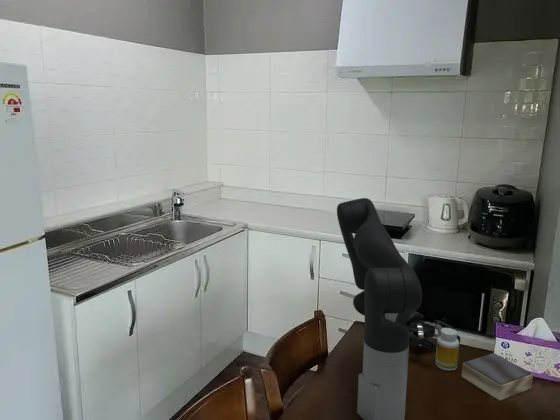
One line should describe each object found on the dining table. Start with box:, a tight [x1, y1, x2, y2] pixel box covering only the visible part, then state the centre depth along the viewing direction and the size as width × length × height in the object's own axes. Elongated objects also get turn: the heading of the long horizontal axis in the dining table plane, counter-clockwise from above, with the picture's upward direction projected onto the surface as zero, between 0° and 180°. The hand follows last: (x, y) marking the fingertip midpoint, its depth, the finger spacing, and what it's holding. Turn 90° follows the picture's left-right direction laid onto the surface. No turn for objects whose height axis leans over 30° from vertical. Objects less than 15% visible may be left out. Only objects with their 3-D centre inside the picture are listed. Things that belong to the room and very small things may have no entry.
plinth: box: [461, 352, 534, 402], centre depth 110 cm, size 11×11×4 cm
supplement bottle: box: [435, 328, 460, 372], centre depth 117 cm, size 5×5×10 cm
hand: (447, 344), depth 117 cm, fingers open, 8 cm apart
